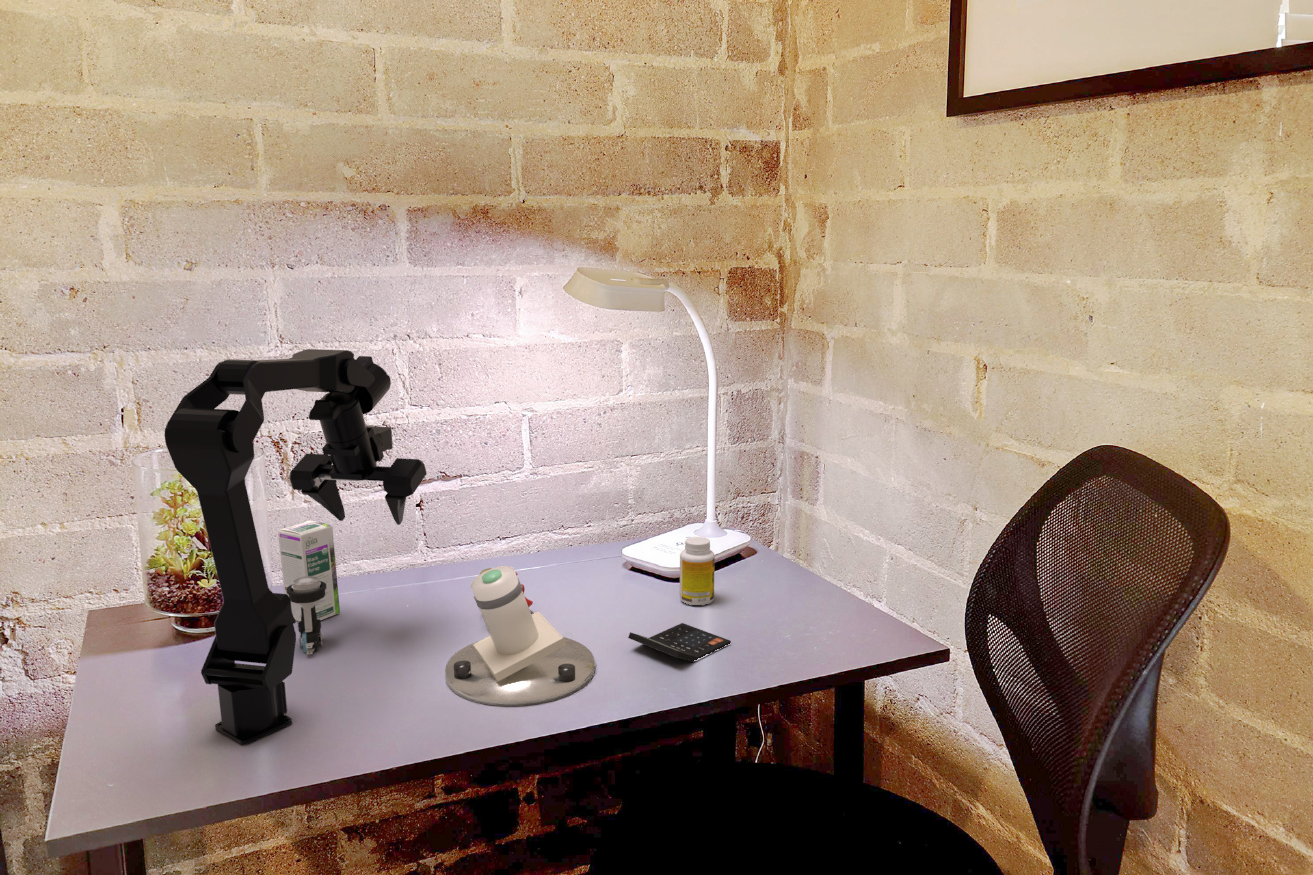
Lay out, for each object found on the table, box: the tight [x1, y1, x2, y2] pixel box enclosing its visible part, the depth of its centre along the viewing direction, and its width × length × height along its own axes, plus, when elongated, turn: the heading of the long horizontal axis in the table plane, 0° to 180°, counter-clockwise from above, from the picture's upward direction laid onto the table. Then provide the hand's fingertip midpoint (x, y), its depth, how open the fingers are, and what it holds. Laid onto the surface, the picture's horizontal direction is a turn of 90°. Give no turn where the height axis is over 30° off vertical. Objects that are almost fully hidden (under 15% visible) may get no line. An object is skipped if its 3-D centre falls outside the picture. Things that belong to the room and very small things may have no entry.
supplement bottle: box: [679, 536, 716, 606], centre depth 152 cm, size 6×6×10 cm
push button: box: [286, 576, 326, 655], centre depth 134 cm, size 7×5×10 cm
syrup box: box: [277, 519, 341, 623], centre depth 145 cm, size 6×6×14 cm
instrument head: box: [470, 565, 566, 682], centre depth 126 cm, size 10×10×12 cm
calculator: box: [627, 622, 732, 663], centre depth 135 cm, size 9×12×3 cm
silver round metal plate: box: [444, 636, 596, 707], centre depth 128 cm, size 20×20×3 cm
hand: (371, 520), depth 140 cm, fingers open, 9 cm apart
